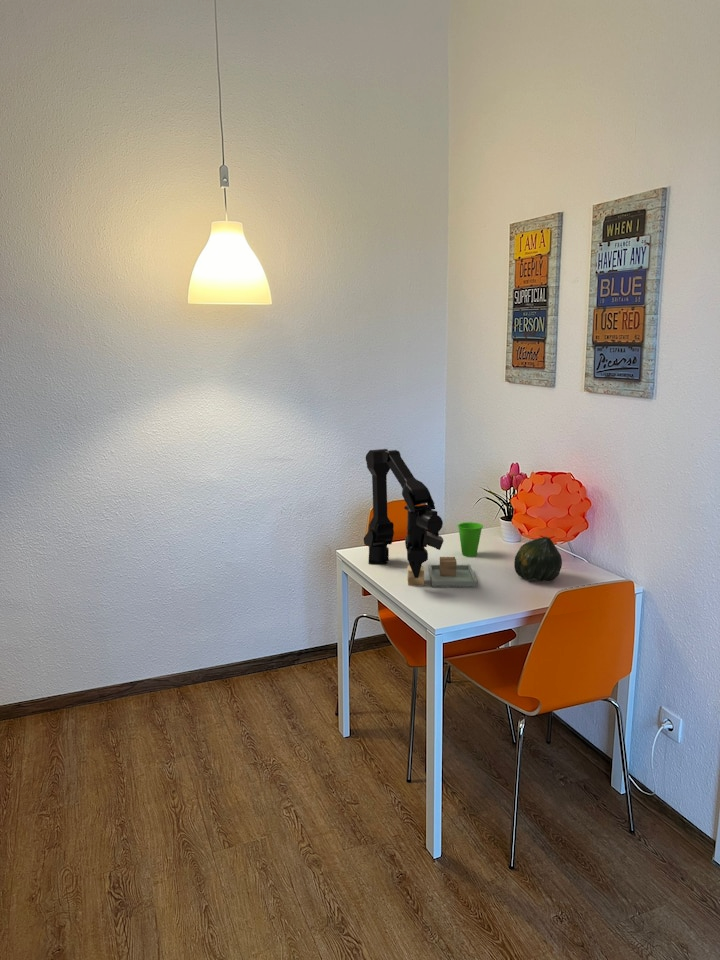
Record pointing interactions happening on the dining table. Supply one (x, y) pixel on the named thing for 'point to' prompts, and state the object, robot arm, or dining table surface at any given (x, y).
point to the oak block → (416, 581)
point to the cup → (469, 537)
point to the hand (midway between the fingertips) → (415, 572)
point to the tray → (453, 577)
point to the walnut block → (447, 566)
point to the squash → (538, 560)
